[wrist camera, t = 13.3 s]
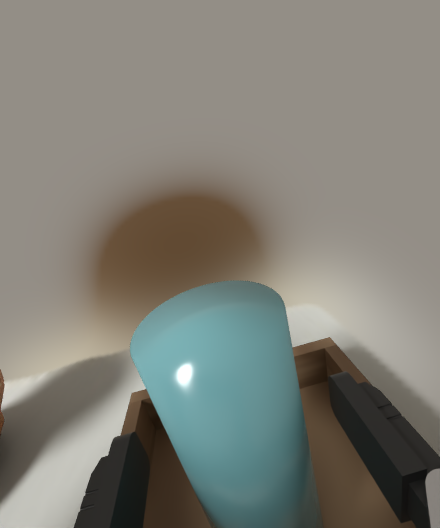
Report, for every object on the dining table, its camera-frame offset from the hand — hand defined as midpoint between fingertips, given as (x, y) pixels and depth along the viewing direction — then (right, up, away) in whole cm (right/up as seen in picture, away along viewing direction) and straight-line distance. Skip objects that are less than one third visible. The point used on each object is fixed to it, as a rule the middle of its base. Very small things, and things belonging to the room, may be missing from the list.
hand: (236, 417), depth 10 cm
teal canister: (+2, -8, +3) cm, 9 cm away
